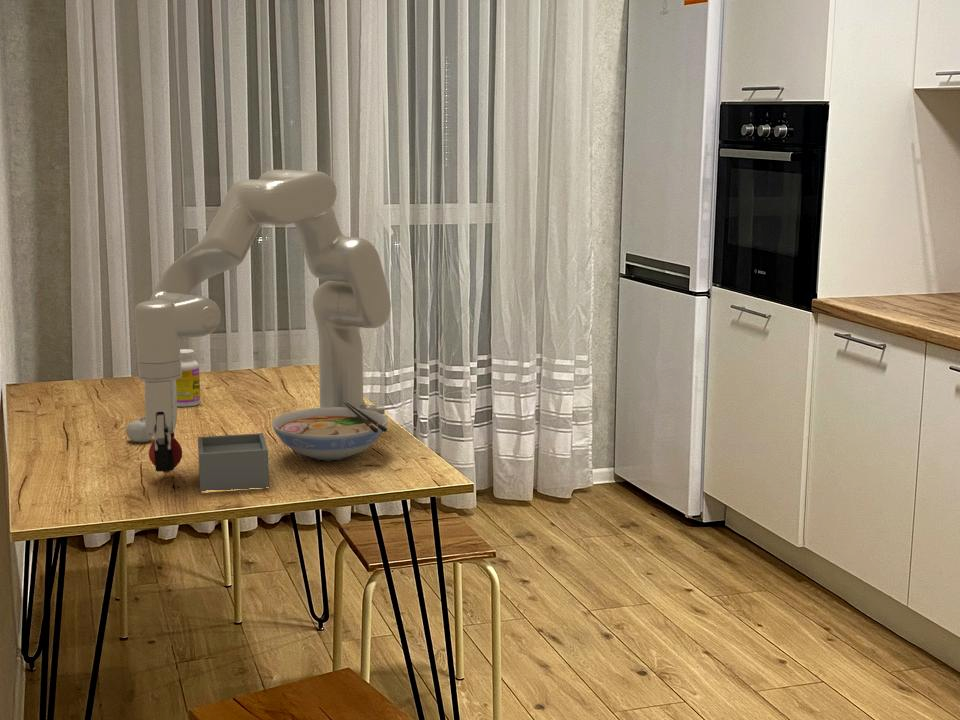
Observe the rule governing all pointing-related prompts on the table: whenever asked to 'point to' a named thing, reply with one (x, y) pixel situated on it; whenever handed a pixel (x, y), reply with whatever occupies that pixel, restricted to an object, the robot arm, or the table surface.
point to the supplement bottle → (188, 380)
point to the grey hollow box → (233, 462)
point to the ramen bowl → (330, 431)
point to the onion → (174, 445)
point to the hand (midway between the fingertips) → (166, 464)
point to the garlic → (138, 431)
